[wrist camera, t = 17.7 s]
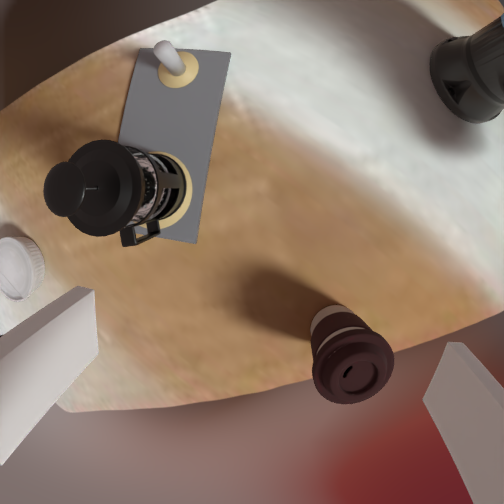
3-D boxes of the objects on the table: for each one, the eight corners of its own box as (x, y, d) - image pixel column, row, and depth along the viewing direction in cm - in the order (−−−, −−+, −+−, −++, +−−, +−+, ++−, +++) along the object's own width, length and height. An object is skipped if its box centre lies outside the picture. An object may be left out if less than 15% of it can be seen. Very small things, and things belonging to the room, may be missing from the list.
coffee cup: (373, 335, 48) (408, 386, 33) (317, 364, 49) (335, 424, 34) (348, 283, 46) (383, 323, 31) (289, 315, 47) (300, 367, 33)
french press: (120, 156, 43) (14, 139, 20) (182, 143, 42) (107, 103, 19) (131, 236, 45) (33, 278, 22) (193, 227, 44) (127, 266, 22)
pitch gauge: (231, 54, 40) (224, 27, 32) (196, 242, 46) (181, 255, 37) (141, 50, 40) (120, 27, 32) (108, 227, 46) (79, 235, 37)
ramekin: (9, 286, 48) (-8, 294, 43) (7, 228, 46) (-11, 232, 41) (51, 299, 48) (34, 309, 43) (50, 236, 46) (31, 241, 41)
